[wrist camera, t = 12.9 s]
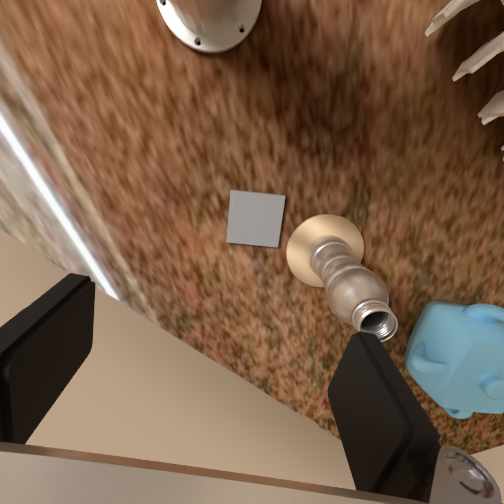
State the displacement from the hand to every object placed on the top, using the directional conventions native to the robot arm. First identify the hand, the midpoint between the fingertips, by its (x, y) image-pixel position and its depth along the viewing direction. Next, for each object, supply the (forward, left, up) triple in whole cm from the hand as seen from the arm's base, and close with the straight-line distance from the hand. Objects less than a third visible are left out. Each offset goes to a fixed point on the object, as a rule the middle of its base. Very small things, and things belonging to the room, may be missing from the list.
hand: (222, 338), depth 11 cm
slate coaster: (+4, +3, -35) cm, 35 cm away
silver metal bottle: (+5, +15, -34) cm, 38 cm away
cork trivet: (+6, +15, -35) cm, 38 cm away
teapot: (+13, +40, -35) cm, 55 cm away
